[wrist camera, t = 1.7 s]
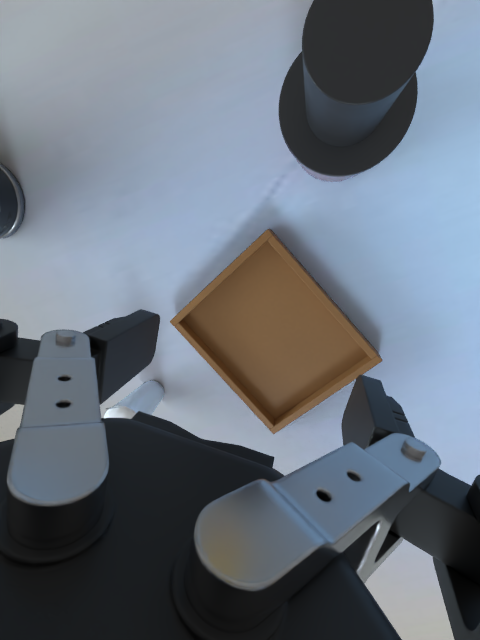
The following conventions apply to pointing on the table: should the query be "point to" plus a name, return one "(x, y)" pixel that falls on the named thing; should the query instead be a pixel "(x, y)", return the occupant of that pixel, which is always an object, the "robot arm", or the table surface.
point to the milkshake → (138, 401)
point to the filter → (354, 82)
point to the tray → (274, 334)
